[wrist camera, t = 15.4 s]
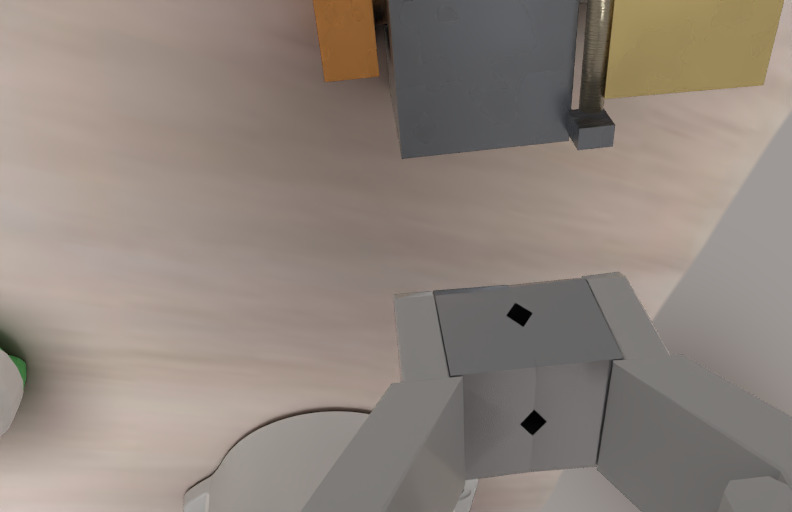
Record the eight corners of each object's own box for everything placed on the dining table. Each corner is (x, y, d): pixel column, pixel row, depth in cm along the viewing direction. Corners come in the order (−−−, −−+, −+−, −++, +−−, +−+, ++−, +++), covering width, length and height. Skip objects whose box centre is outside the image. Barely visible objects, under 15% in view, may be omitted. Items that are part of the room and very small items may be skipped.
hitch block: (556, 70, 31) (611, 156, 25) (389, 88, 30) (405, 179, 25) (570, -174, 25) (646, -139, 19) (368, -154, 25) (381, -112, 19)
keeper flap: (749, 88, 25) (759, 99, 24) (576, 104, 25) (581, 114, 24) (795, -104, 21) (808, -98, 20) (591, -85, 21) (598, -78, 20)
